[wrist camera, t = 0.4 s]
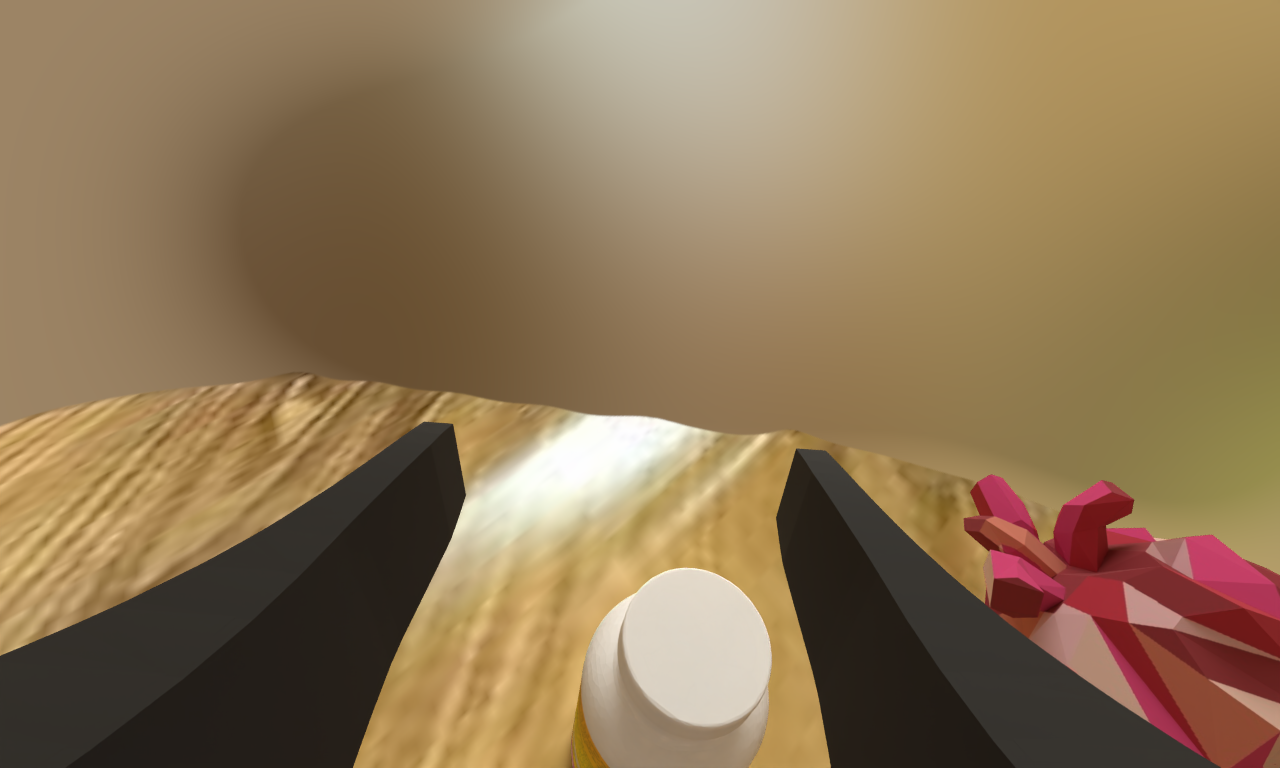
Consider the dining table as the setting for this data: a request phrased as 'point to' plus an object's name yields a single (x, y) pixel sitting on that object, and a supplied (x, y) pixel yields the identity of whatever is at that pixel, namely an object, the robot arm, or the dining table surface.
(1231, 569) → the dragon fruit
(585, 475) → the dining table surface
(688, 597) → the supplement bottle
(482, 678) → the dining table surface
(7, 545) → the dining table surface
